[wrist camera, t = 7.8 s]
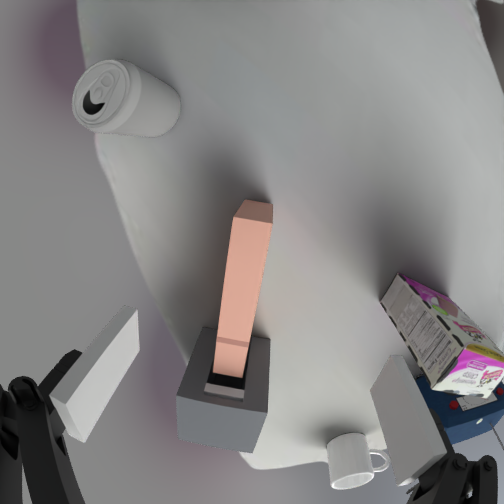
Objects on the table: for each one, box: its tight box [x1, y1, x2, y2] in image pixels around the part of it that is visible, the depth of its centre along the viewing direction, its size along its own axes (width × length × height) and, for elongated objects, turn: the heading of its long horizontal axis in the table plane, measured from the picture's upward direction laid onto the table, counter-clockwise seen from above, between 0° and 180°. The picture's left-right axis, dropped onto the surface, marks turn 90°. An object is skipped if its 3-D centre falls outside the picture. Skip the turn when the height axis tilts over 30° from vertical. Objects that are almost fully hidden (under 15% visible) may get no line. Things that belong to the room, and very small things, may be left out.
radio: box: [415, 375, 504, 450], centre depth 28 cm, size 21×9×20 cm, turn 86°
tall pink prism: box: [213, 199, 273, 378], centre depth 28 cm, size 16×3×9 cm, turn 171°
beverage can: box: [72, 59, 181, 138], centre depth 22 cm, size 6×6×12 cm
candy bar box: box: [380, 273, 504, 398], centre depth 25 cm, size 11×5×16 cm, turn 68°
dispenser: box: [176, 327, 270, 453], centre depth 31 cm, size 9×9×12 cm
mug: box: [327, 433, 391, 489], centre depth 39 cm, size 8×12×10 cm
